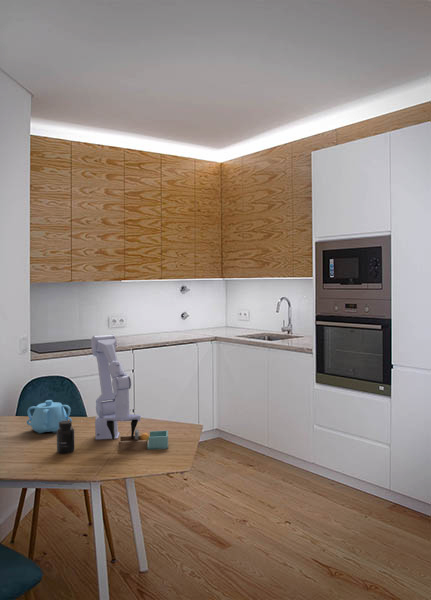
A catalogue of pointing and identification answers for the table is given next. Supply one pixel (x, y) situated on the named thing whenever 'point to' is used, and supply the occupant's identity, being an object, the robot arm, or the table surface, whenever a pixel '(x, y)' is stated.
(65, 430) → the supplement bottle
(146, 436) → the ball
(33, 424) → the decorative pot
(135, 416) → the robot arm
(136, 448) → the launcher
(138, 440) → the plunger
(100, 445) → the table surface
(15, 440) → the table surface
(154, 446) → the teal open box
